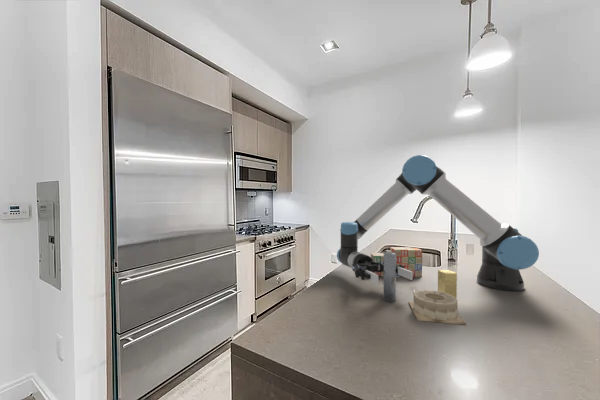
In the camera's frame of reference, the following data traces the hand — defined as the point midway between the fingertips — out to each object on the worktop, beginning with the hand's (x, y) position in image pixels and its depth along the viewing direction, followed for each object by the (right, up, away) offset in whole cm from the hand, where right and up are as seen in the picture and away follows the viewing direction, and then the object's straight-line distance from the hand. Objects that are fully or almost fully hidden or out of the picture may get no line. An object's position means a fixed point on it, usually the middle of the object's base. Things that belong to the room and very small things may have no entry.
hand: (395, 277), depth 86 cm
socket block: (+9, -8, -7) cm, 15 cm away
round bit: (-1, -8, +3) cm, 9 cm away
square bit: (+18, -8, +2) cm, 20 cm away
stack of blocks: (+12, -9, +33) cm, 36 cm away
